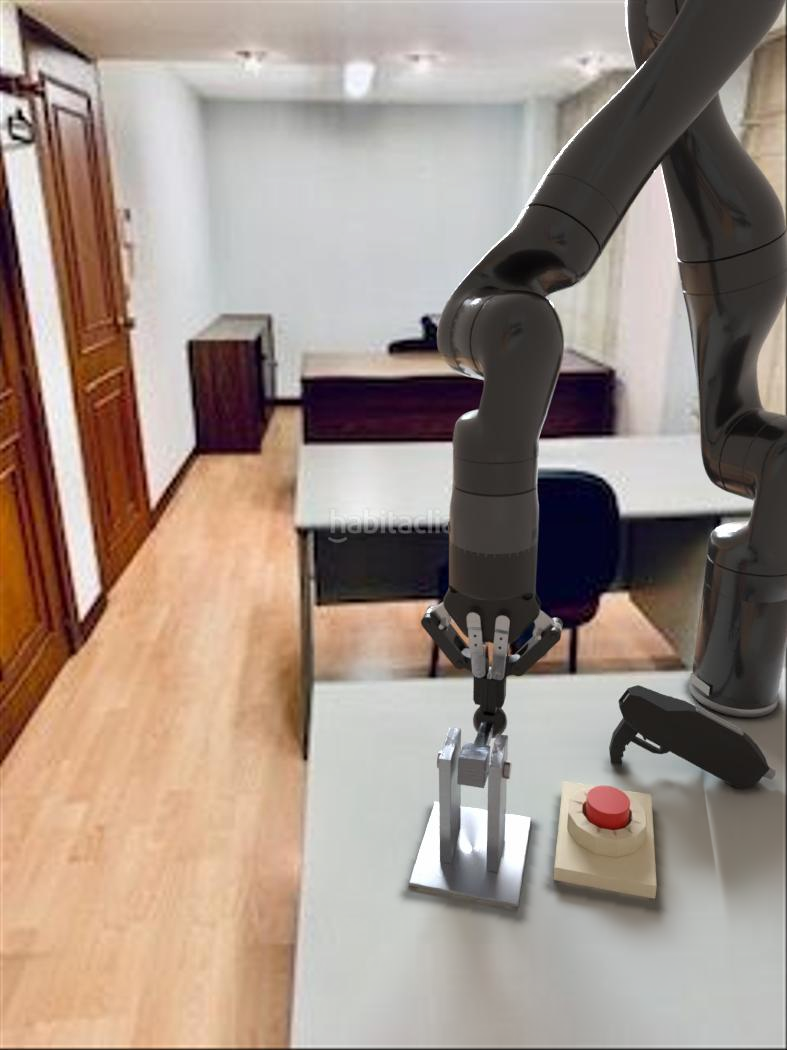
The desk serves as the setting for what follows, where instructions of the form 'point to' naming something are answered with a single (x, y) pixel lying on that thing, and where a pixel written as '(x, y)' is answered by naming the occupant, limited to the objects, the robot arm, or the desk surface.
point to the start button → (607, 807)
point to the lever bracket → (473, 834)
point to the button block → (606, 846)
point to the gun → (688, 737)
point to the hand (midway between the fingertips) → (489, 707)
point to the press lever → (480, 748)
